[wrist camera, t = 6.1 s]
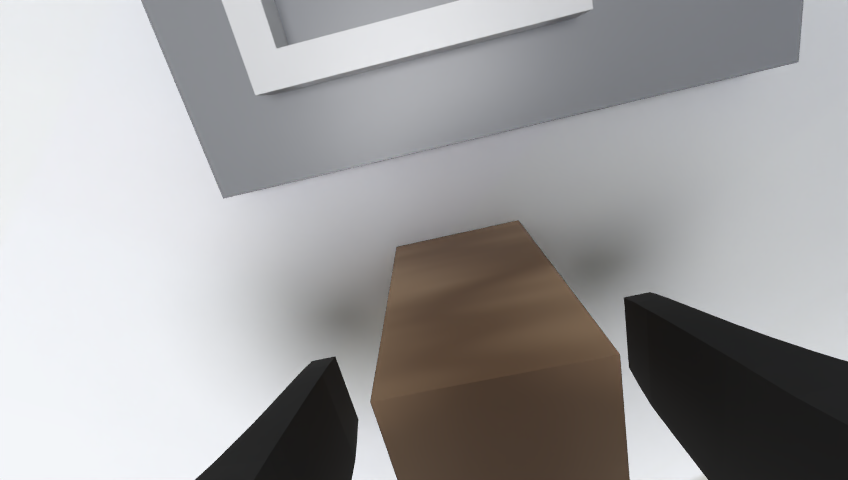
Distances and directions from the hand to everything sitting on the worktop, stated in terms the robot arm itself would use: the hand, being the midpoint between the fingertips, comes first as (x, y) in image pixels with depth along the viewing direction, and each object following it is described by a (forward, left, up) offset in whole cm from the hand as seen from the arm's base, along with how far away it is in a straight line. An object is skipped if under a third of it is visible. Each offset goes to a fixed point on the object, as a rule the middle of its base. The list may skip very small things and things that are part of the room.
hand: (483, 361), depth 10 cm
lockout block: (0, 0, -4) cm, 4 cm away
